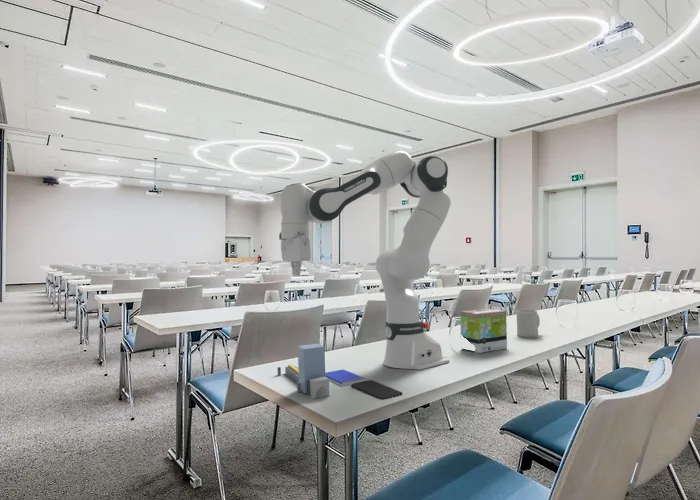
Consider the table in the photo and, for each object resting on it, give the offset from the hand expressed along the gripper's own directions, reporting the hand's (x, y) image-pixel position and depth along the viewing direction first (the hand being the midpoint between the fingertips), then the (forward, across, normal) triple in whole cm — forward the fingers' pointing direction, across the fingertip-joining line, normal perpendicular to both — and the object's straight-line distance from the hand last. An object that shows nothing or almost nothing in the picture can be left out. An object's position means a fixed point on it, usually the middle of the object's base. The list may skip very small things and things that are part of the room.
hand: (296, 275), depth 135 cm
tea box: (+32, -7, -72) cm, 79 cm away
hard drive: (+32, -15, -9) cm, 36 cm away
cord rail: (+31, -13, +3) cm, 34 cm away
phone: (+32, -30, -12) cm, 45 cm away
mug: (+32, +3, -108) cm, 112 cm away
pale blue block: (+31, -21, +3) cm, 38 cm away
